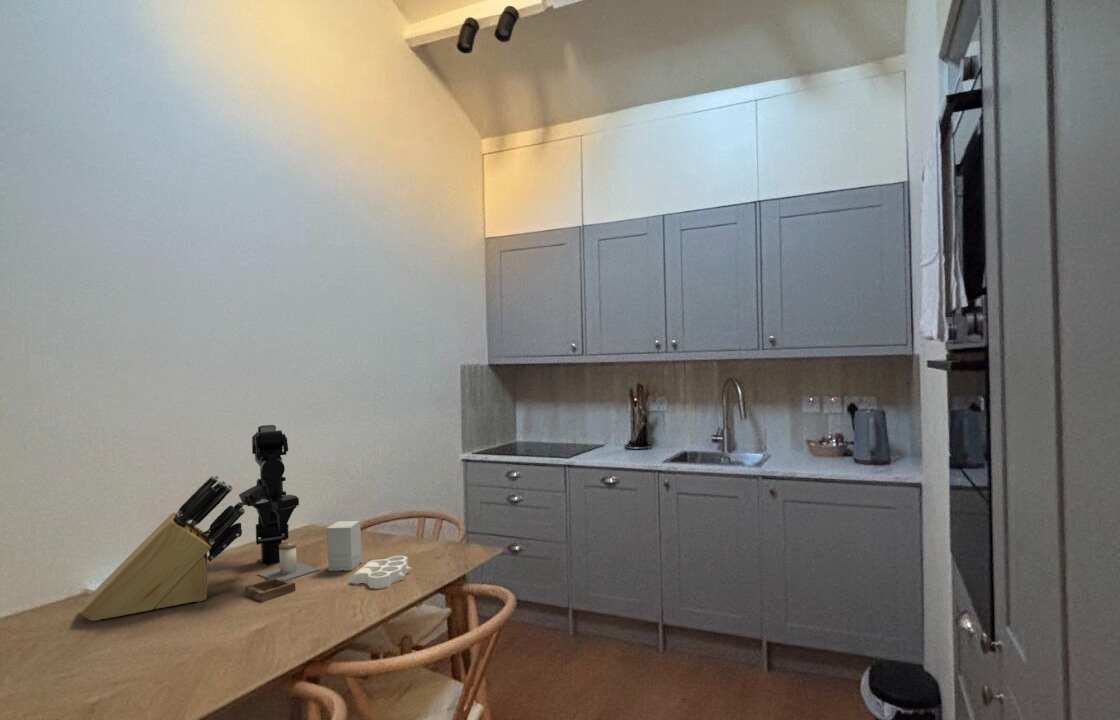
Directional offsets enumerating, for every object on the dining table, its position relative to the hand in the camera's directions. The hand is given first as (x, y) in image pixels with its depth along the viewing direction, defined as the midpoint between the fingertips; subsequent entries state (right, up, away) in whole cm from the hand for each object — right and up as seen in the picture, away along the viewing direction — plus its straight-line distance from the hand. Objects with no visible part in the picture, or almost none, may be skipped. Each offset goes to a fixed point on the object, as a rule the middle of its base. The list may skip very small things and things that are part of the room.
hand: (273, 529), depth 175 cm
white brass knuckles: (+33, -13, -5) cm, 36 cm away
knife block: (-18, -14, -18) cm, 29 cm away
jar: (+4, -13, +1) cm, 13 cm away
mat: (+4, -13, +1) cm, 13 cm away
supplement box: (+19, -13, +5) cm, 23 cm away
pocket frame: (+6, -13, -14) cm, 20 cm away
